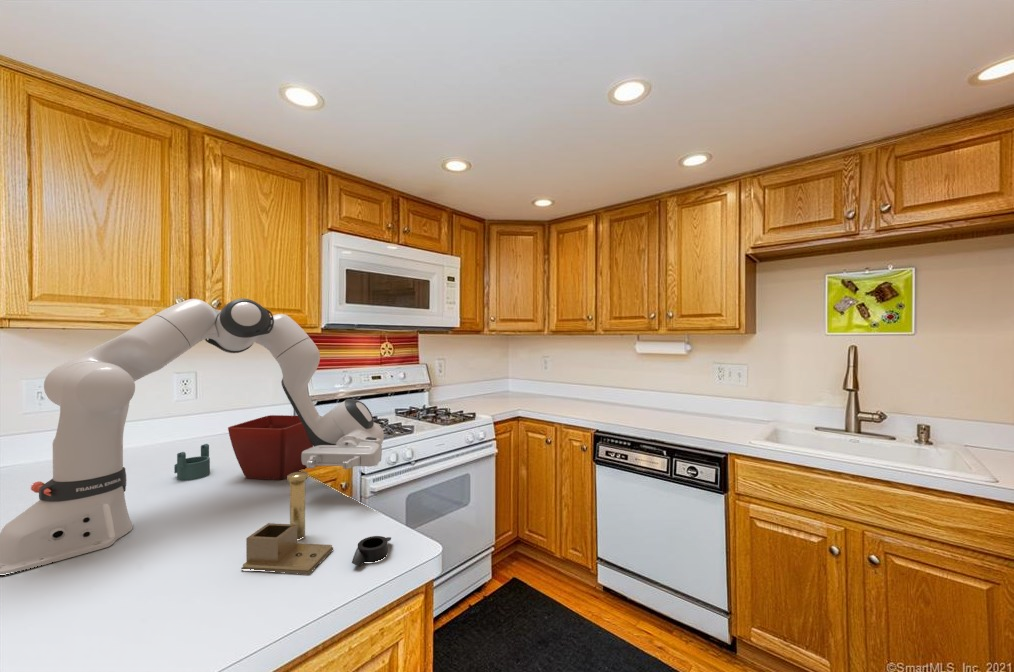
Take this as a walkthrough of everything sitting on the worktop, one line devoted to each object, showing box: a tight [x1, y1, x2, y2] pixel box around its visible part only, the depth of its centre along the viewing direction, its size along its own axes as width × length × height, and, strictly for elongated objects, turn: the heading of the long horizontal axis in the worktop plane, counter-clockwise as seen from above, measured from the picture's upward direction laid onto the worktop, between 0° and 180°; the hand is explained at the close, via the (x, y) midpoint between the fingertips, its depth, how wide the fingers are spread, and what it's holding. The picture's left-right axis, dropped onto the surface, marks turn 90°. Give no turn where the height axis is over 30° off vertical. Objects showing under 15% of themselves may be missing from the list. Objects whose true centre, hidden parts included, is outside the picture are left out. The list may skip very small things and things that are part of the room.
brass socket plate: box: [240, 522, 334, 575], centre depth 84 cm, size 9×14×6 cm, turn 85°
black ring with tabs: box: [351, 535, 392, 567], centre depth 86 cm, size 8×10×3 cm
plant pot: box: [227, 414, 314, 481], centre depth 136 cm, size 19×19×17 cm
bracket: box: [174, 443, 211, 482], centre depth 133 cm, size 9×9×9 cm
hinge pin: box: [286, 471, 308, 539], centre depth 93 cm, size 4×4×14 cm
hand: (327, 465), depth 106 cm, fingers open, 8 cm apart
